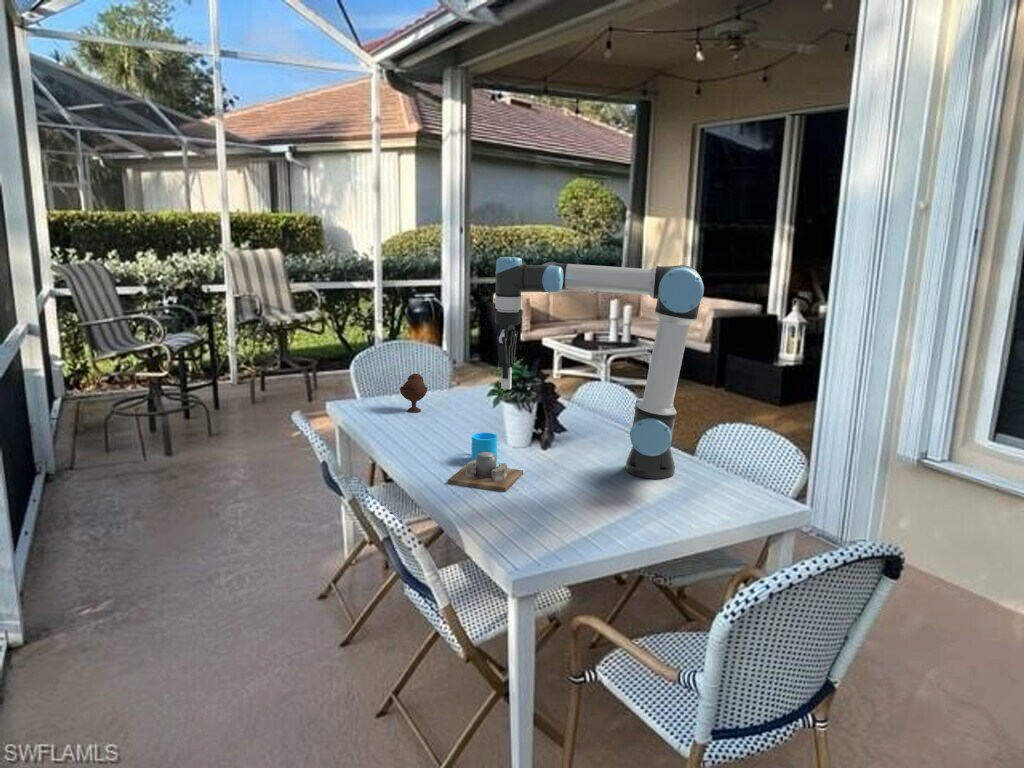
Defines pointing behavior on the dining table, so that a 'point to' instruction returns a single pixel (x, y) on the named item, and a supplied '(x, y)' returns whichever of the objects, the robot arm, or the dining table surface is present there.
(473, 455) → the mug
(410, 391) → the ice cream bowl
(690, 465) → the dining table surface
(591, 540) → the dining table surface
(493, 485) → the board
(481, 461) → the cap
